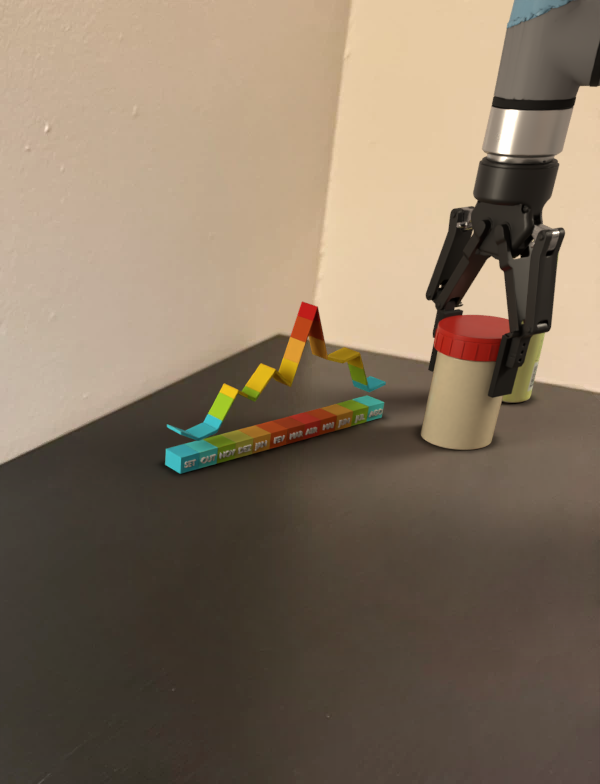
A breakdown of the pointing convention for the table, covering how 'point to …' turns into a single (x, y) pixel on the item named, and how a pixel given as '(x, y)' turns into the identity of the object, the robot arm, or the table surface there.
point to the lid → (471, 336)
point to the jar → (460, 404)
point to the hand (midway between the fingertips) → (468, 381)
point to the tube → (526, 371)
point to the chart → (285, 428)
